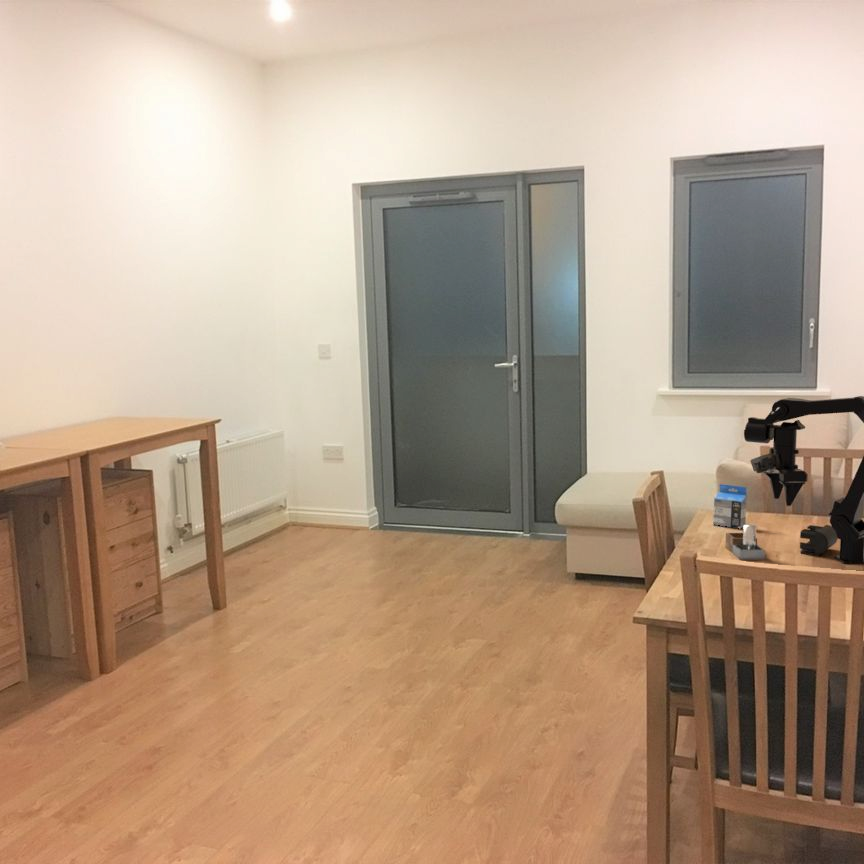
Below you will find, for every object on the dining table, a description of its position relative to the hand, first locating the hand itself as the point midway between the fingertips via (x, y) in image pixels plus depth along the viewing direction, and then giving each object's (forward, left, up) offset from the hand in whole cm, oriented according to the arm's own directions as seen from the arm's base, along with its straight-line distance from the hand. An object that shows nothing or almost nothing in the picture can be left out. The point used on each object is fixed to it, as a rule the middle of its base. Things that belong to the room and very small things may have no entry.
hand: (782, 502), depth 248 cm
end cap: (-3, -9, -13) cm, 16 cm away
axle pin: (-7, +11, -13) cm, 18 cm away
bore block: (-1, +11, -13) cm, 17 cm away
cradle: (-7, +11, -13) cm, 19 cm away
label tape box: (+27, +6, -13) cm, 31 cm away
